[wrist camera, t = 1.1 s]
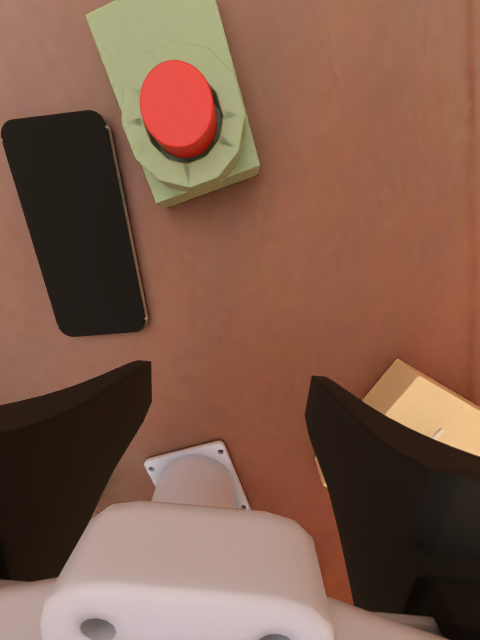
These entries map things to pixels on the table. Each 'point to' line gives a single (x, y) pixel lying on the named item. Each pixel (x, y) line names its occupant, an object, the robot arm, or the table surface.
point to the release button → (178, 108)
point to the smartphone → (77, 220)
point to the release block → (201, 52)
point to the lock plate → (425, 408)
